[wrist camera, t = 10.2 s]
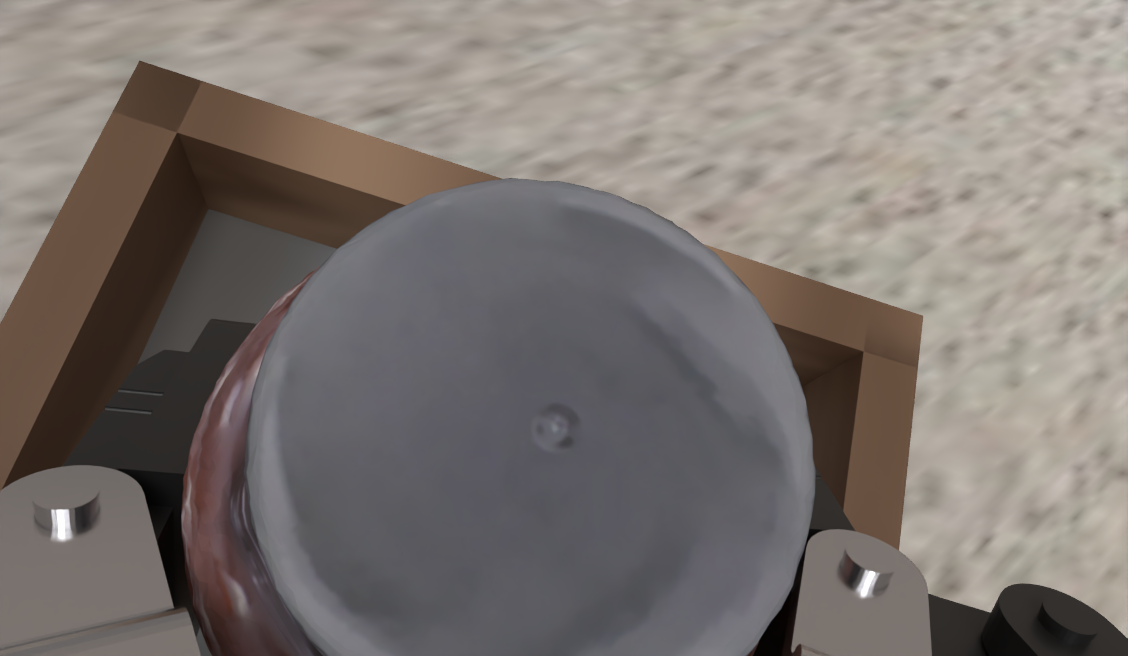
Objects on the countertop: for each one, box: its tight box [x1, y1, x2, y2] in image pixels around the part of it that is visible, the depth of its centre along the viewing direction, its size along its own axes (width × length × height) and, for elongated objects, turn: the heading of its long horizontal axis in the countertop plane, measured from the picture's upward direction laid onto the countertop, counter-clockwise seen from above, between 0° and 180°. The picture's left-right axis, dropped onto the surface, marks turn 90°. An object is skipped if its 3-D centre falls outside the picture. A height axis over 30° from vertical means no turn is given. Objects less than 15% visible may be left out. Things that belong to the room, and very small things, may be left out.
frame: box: [0, 61, 923, 656], centre depth 17 cm, size 16×12×4 cm
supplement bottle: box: [181, 178, 816, 656], centre depth 11 cm, size 6×6×11 cm
